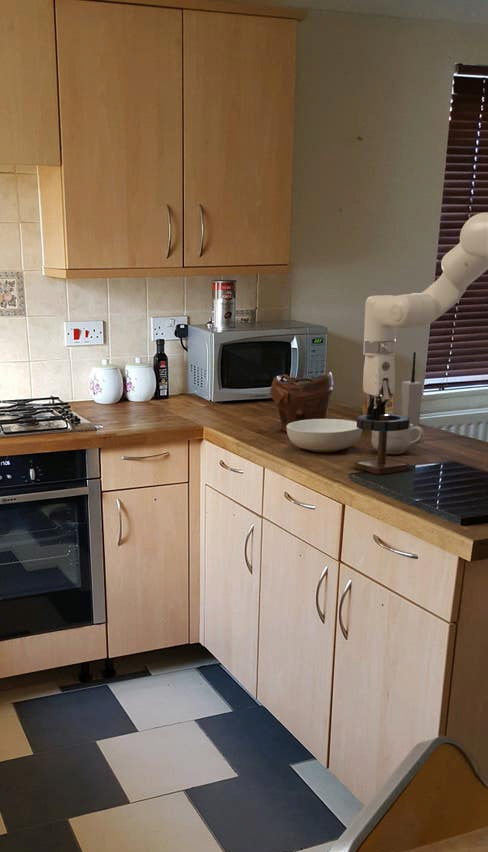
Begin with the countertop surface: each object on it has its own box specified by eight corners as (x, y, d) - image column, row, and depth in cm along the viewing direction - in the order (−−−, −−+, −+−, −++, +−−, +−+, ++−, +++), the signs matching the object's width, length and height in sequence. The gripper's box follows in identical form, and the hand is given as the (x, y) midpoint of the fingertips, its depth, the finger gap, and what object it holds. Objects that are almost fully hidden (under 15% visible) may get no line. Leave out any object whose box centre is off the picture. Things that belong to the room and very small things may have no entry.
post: (407, 470, 216) (410, 415, 212) (378, 474, 212) (381, 419, 208) (383, 464, 224) (386, 411, 219) (355, 468, 220) (357, 414, 216)
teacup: (362, 453, 237) (363, 424, 235) (385, 447, 244) (386, 418, 241) (407, 460, 227) (409, 429, 225) (429, 453, 234) (431, 423, 232)
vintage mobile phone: (410, 439, 255) (416, 350, 247) (418, 442, 250) (424, 352, 242) (398, 439, 254) (403, 351, 246) (405, 442, 250) (411, 352, 241)
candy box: (392, 425, 278) (395, 376, 273) (385, 427, 275) (387, 377, 270) (368, 422, 284) (371, 374, 279) (361, 424, 281) (363, 375, 276)
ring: (417, 429, 210) (418, 420, 209) (368, 432, 208) (368, 423, 207) (396, 421, 221) (397, 413, 221) (349, 424, 220) (350, 415, 219)
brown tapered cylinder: (260, 428, 279) (260, 371, 274) (316, 423, 285) (318, 367, 279) (284, 437, 263) (285, 377, 258) (343, 432, 269) (346, 372, 263)
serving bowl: (272, 446, 250) (272, 422, 248) (335, 440, 257) (336, 416, 255) (310, 459, 231) (311, 433, 229) (377, 451, 239) (378, 426, 236)
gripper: (407, 350, 206) (402, 428, 212) (381, 345, 221) (377, 418, 227) (376, 351, 205) (373, 429, 211) (353, 346, 220) (350, 419, 226)
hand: (375, 423), depth 219 cm, fingers closed on ring, 2 cm apart
